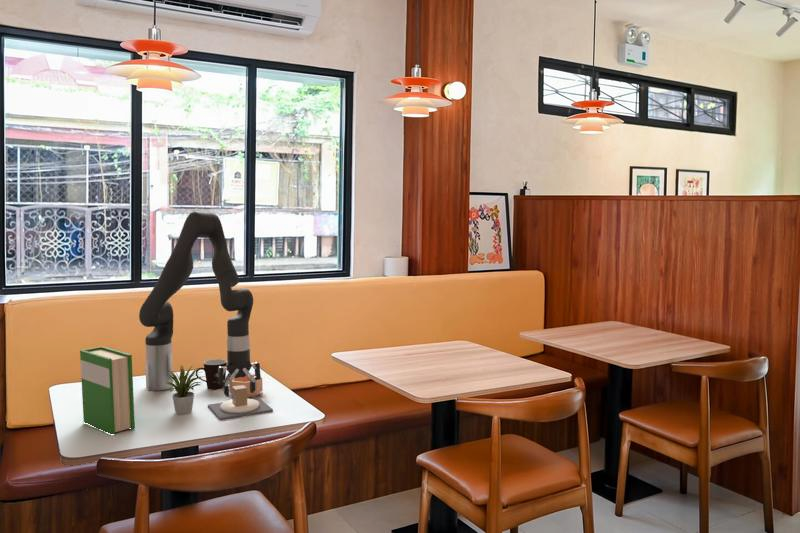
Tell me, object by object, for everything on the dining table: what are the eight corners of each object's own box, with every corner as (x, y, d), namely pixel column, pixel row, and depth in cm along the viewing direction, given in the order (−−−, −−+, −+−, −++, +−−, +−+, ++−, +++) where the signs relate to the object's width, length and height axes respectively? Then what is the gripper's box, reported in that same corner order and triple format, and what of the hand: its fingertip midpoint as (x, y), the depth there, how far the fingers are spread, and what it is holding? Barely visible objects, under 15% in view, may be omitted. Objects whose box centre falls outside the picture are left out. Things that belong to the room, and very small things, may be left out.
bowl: (235, 400, 237) (235, 384, 236) (227, 392, 246) (226, 376, 246) (265, 395, 242) (265, 379, 242) (256, 388, 252) (255, 372, 251)
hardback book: (134, 429, 208) (131, 354, 205) (112, 436, 202) (108, 359, 199) (106, 417, 219) (102, 346, 216) (83, 423, 213) (79, 350, 210)
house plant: (186, 423, 214) (184, 373, 212) (151, 417, 218) (149, 369, 217) (213, 409, 227) (211, 363, 225) (179, 405, 232) (178, 359, 230)
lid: (226, 415, 218) (225, 395, 218) (216, 404, 230) (215, 385, 229) (264, 409, 225) (264, 389, 224) (252, 399, 236) (252, 379, 235)
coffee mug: (226, 383, 258) (226, 358, 257) (228, 389, 250) (227, 363, 249) (195, 386, 254) (194, 360, 253) (196, 392, 246) (195, 366, 245)
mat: (219, 420, 216) (219, 418, 216) (207, 406, 230) (207, 404, 230) (273, 411, 225) (273, 409, 225) (258, 399, 239) (258, 396, 238)
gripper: (255, 343, 232) (256, 388, 233) (214, 348, 225) (215, 394, 226) (262, 347, 225) (263, 394, 227) (220, 352, 218) (221, 400, 220)
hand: (239, 394), depth 227 cm, fingers open, 8 cm apart
